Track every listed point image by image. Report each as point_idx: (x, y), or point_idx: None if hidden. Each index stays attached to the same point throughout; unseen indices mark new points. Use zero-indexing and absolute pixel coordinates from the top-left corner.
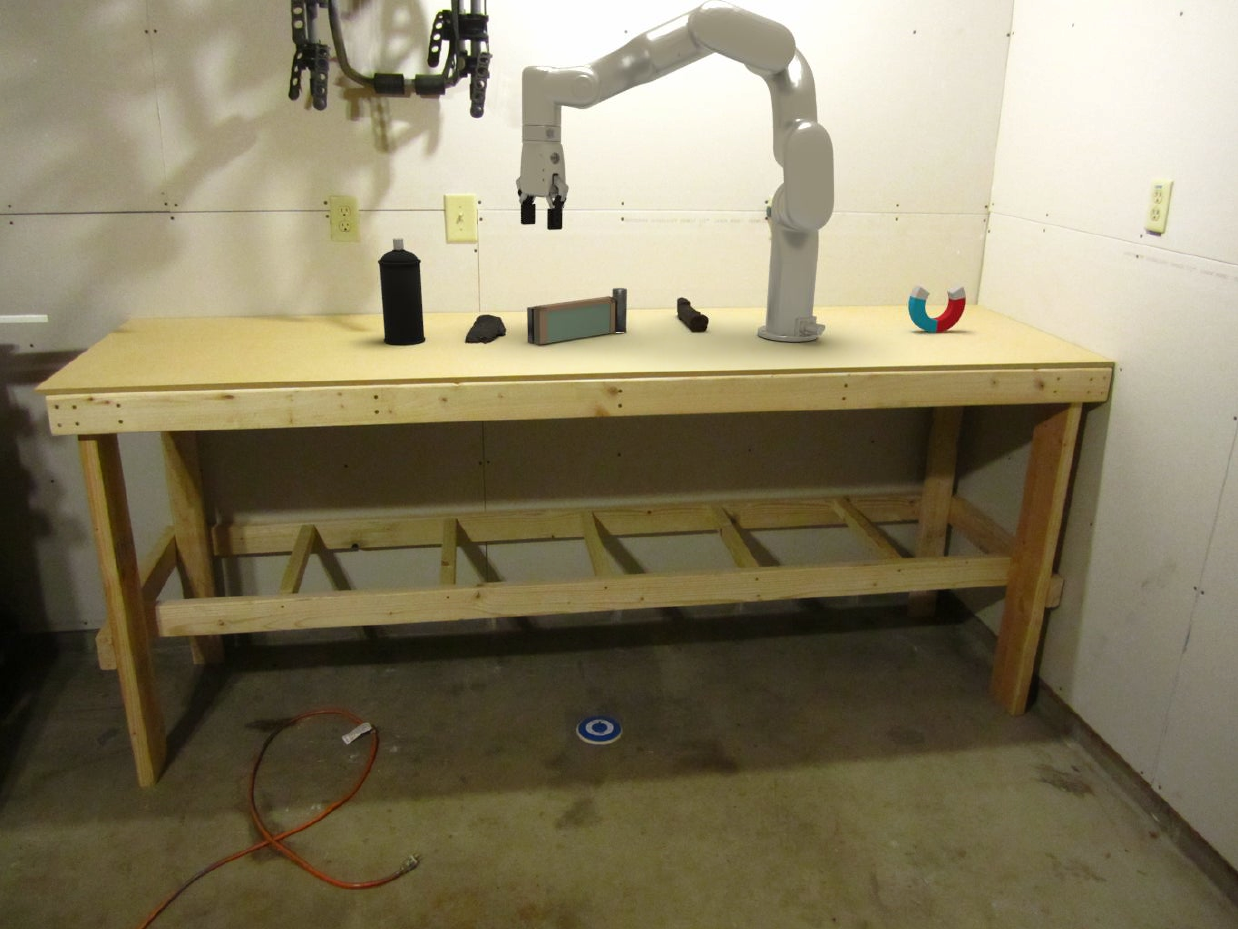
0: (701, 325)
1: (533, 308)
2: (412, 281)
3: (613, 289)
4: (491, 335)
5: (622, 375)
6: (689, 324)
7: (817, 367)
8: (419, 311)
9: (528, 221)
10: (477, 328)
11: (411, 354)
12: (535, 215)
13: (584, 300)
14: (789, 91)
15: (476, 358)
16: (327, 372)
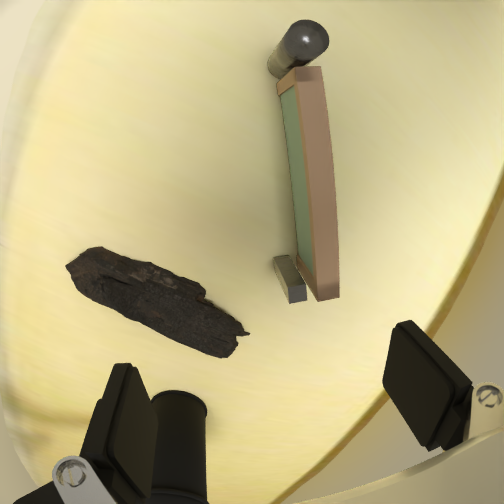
0: None
1: (306, 296)
2: (203, 477)
3: (305, 53)
4: (230, 324)
5: (482, 239)
6: None
7: None
8: (197, 433)
9: (147, 407)
10: (180, 332)
11: (258, 417)
12: (125, 396)
13: (318, 159)
14: None
15: (324, 366)
16: (287, 467)
